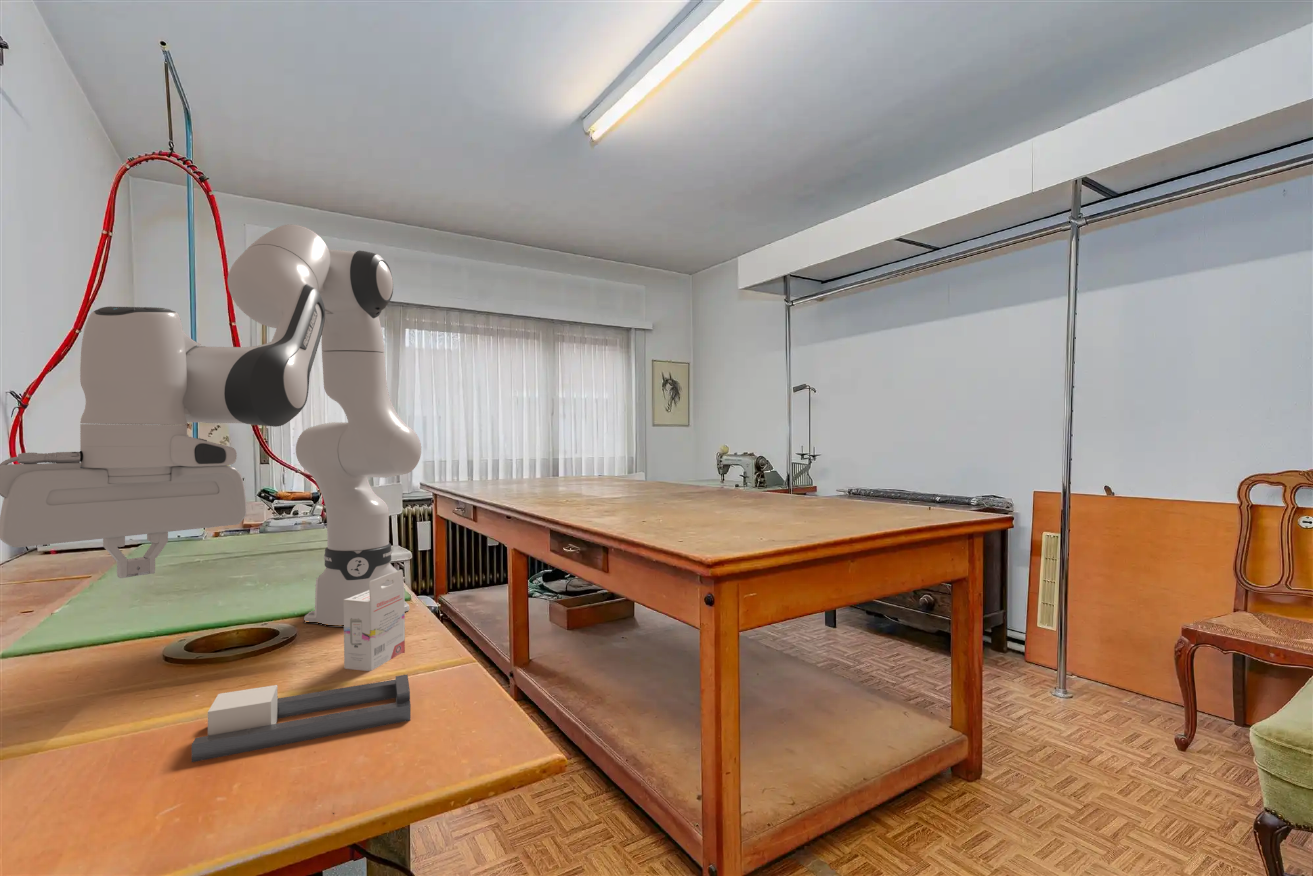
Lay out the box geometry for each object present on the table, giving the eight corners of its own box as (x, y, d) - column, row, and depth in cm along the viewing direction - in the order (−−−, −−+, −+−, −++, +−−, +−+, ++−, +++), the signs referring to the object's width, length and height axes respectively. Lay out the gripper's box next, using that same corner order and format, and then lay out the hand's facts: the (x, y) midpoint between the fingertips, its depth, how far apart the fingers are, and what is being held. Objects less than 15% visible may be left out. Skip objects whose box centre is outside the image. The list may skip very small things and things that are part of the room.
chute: (212, 733, 72) (212, 701, 71) (406, 698, 81) (407, 670, 81) (191, 771, 63) (191, 735, 63) (410, 728, 73) (410, 696, 73)
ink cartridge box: (379, 654, 97) (379, 566, 97) (405, 657, 96) (406, 568, 96) (341, 675, 89) (342, 579, 89) (370, 678, 88) (370, 581, 88)
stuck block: (218, 730, 70) (218, 693, 70) (277, 719, 73) (277, 684, 73) (207, 750, 66) (207, 711, 66) (270, 738, 68) (271, 701, 68)
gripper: (-1, 454, 54) (-1, 601, 54) (251, 449, 71) (251, 563, 71) (-10, 452, 58) (-9, 590, 58) (232, 448, 75) (232, 556, 75)
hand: (136, 575), depth 65 cm, fingers closed
